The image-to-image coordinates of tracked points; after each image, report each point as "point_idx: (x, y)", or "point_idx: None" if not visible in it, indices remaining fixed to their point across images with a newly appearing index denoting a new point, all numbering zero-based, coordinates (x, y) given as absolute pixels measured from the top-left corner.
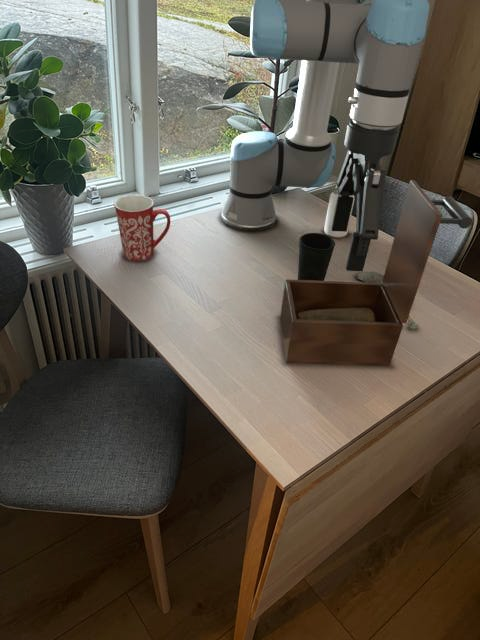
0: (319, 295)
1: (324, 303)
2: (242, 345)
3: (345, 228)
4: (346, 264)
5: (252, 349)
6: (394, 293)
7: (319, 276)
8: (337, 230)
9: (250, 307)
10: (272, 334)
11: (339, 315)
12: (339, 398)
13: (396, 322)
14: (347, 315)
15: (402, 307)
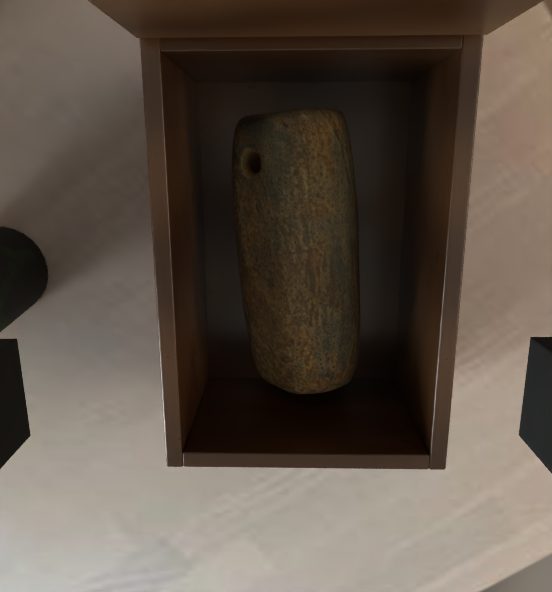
0: (187, 310)
1: (193, 277)
2: (329, 490)
3: (7, 360)
4: (536, 451)
5: None
6: (323, 25)
7: (8, 268)
8: (21, 403)
9: (151, 463)
10: None
11: (324, 260)
12: (549, 259)
13: (447, 50)
14: (324, 229)
15: (464, 21)
